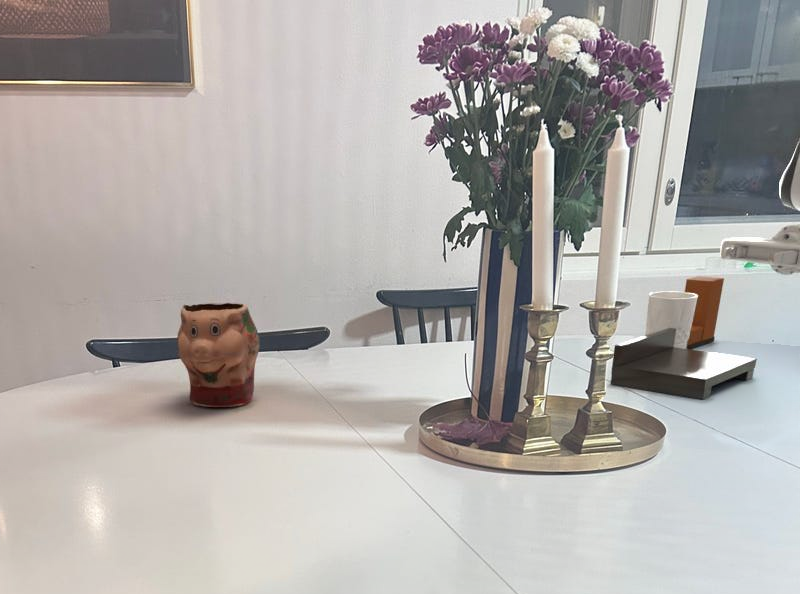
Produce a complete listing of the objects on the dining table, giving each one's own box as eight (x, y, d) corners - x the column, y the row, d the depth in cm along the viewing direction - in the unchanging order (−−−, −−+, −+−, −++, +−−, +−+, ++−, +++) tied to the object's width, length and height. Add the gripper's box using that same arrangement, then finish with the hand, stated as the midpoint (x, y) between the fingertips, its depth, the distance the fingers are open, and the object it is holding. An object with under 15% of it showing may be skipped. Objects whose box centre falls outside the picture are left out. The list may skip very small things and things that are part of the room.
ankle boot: (714, 341, 173) (725, 278, 168) (689, 349, 167) (700, 284, 162) (688, 337, 176) (698, 275, 171) (663, 346, 170) (672, 282, 165)
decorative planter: (192, 384, 153) (184, 294, 146) (266, 382, 152) (262, 292, 146) (172, 416, 135) (162, 316, 129) (256, 415, 135) (251, 314, 128)
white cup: (697, 357, 162) (708, 296, 157) (660, 361, 160) (669, 299, 155) (668, 348, 168) (677, 290, 164) (631, 352, 166) (639, 293, 161)
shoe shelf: (753, 377, 148) (760, 338, 145) (702, 399, 137) (709, 358, 134) (664, 364, 158) (669, 327, 155) (609, 384, 146) (614, 345, 144)
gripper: (748, 228, 185) (704, 233, 179) (848, 235, 170) (804, 241, 164) (742, 262, 188) (698, 268, 182) (840, 272, 173) (796, 280, 167)
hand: (749, 255), depth 172 cm, fingers open, 8 cm apart
